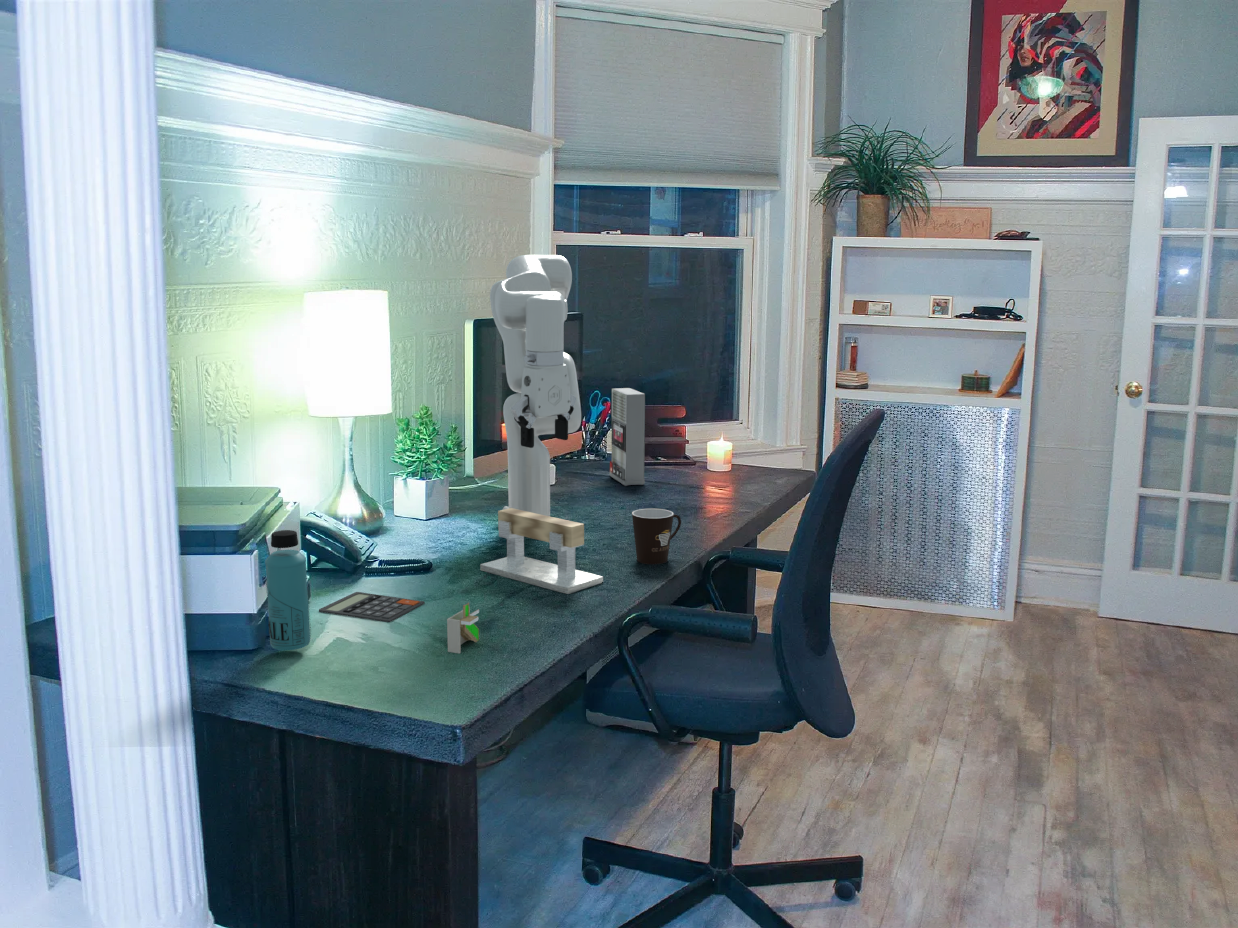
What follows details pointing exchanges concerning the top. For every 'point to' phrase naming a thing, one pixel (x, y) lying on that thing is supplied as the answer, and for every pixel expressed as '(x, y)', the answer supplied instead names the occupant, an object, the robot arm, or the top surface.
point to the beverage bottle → (287, 594)
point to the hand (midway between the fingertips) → (544, 442)
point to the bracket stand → (540, 565)
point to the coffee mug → (653, 534)
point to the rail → (542, 526)
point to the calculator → (372, 606)
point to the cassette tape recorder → (628, 436)
